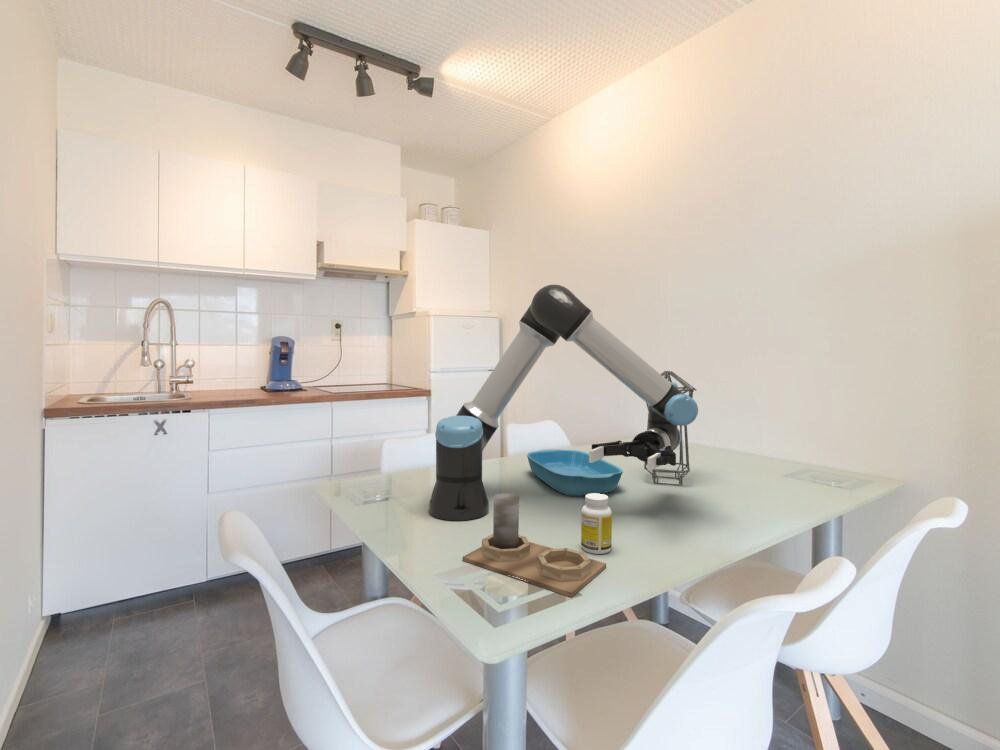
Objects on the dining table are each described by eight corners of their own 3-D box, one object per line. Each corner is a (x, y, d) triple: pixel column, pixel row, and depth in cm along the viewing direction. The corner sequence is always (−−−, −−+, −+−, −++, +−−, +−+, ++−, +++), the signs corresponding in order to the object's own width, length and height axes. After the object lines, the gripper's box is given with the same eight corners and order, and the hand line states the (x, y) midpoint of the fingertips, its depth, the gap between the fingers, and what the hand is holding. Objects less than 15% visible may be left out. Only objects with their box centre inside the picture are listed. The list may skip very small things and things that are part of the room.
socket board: (462, 560, 95) (462, 500, 94) (504, 538, 106) (504, 484, 105) (571, 597, 81) (572, 527, 80) (606, 567, 92) (607, 505, 92)
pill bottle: (607, 542, 104) (608, 491, 104) (614, 554, 98) (616, 500, 97) (578, 542, 104) (579, 491, 103) (584, 555, 98) (585, 500, 97)
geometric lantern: (640, 485, 149) (641, 371, 148) (641, 474, 164) (642, 370, 163) (696, 489, 144) (697, 371, 144) (691, 477, 159) (692, 370, 159)
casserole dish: (635, 496, 138) (636, 471, 138) (563, 503, 131) (564, 477, 131) (577, 467, 173) (577, 447, 173) (517, 471, 166) (518, 450, 166)
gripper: (701, 466, 118) (676, 486, 101) (605, 453, 133) (568, 469, 115) (702, 435, 118) (676, 450, 101) (605, 426, 132) (568, 438, 115)
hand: (618, 460), depth 108 cm, fingers open, 13 cm apart
